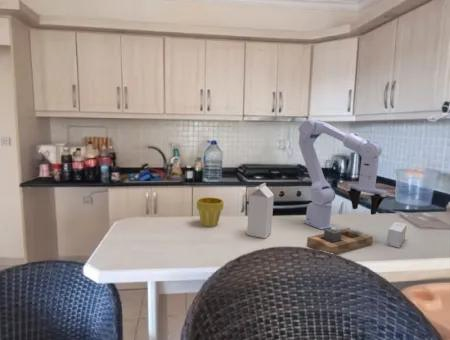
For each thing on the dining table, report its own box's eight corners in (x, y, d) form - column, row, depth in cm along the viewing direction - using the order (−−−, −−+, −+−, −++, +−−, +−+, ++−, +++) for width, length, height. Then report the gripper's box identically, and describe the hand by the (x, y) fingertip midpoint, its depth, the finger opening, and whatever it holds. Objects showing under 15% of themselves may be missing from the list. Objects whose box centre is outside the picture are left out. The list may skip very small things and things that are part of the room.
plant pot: (206, 230, 120) (207, 204, 119) (191, 222, 128) (192, 198, 126) (227, 225, 126) (228, 201, 125) (212, 218, 134) (213, 196, 133)
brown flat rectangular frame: (306, 245, 109) (307, 236, 109) (347, 235, 121) (348, 227, 121) (330, 256, 101) (331, 246, 101) (371, 244, 113) (372, 235, 112)
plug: (322, 246, 109) (324, 226, 108) (330, 244, 112) (332, 225, 110) (332, 250, 106) (334, 230, 105) (340, 248, 108) (342, 228, 107)
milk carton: (271, 233, 120) (274, 183, 117) (265, 239, 114) (269, 186, 111) (253, 229, 123) (256, 181, 120) (246, 235, 117) (249, 184, 114)
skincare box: (405, 239, 121) (399, 248, 111) (392, 236, 123) (385, 245, 114) (407, 223, 120) (401, 231, 110) (394, 221, 122) (388, 228, 113)
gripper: (344, 172, 121) (340, 207, 123) (380, 179, 109) (375, 217, 111) (355, 172, 125) (352, 205, 127) (391, 178, 113) (387, 215, 115)
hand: (363, 211), depth 119 cm, fingers open, 7 cm apart
